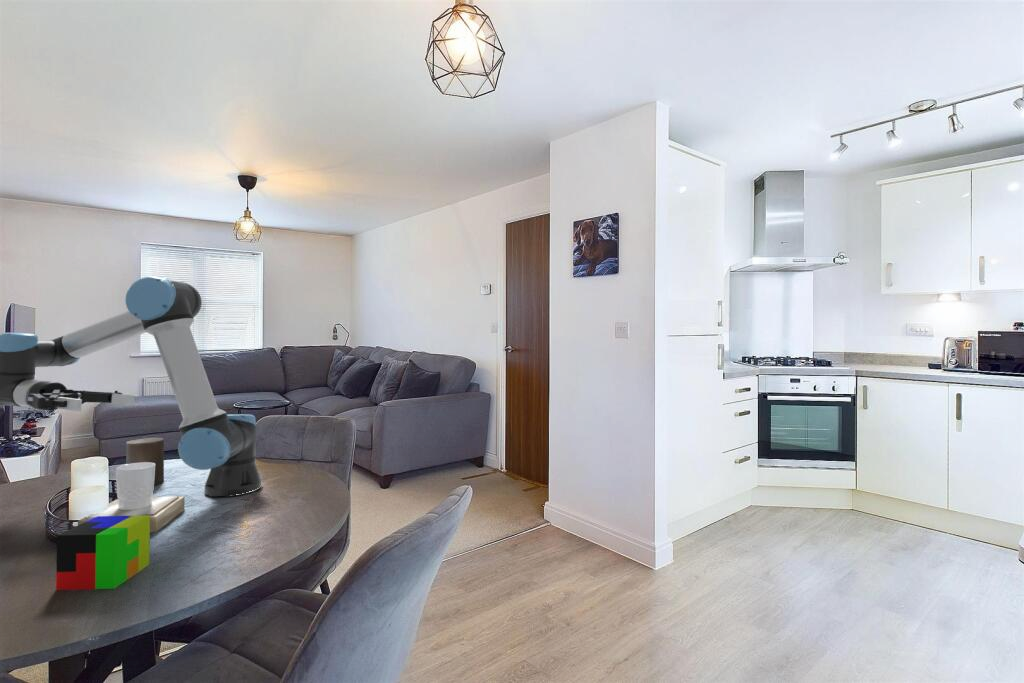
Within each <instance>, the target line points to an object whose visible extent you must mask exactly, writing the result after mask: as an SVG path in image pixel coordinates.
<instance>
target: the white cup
mask: <svg viewBox="0 0 1024 683" xmlns="http://www.w3.org/2000/svg"><path fill="white" fill-rule="evenodd" d="M115 478H116V498H117V500H118V508H119V509H120V510H135V509H140V508H145V507H147V506H150V505H151V504H152V498H153V495H154V488H155V487H154V486H155V485H154V478H155V463H151V462H141V463H131V464H122V465H120V466H117V467H115Z"/></svg>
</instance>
